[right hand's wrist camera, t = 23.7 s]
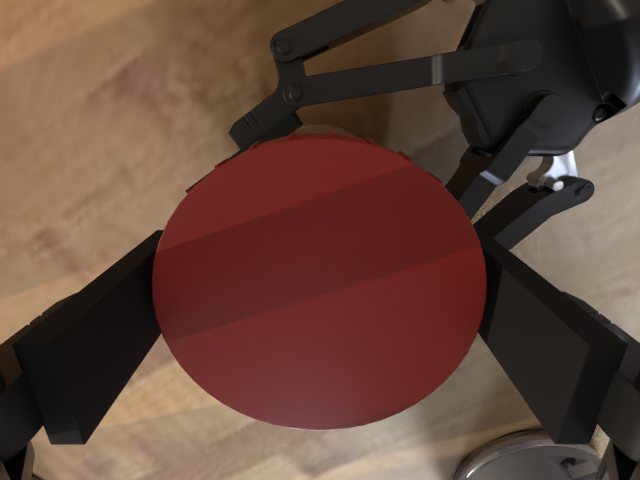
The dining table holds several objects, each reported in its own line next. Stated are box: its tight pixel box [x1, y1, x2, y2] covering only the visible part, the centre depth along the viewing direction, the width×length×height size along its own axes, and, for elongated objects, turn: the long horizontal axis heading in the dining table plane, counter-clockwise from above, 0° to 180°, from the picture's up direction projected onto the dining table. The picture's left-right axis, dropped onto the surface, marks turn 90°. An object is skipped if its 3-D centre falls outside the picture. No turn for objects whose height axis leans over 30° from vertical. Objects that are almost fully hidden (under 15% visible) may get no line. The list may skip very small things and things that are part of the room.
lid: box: [152, 130, 487, 430], centre depth 11 cm, size 10×10×2 cm
